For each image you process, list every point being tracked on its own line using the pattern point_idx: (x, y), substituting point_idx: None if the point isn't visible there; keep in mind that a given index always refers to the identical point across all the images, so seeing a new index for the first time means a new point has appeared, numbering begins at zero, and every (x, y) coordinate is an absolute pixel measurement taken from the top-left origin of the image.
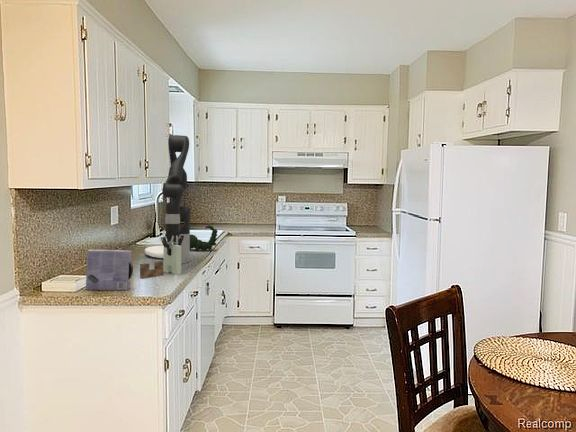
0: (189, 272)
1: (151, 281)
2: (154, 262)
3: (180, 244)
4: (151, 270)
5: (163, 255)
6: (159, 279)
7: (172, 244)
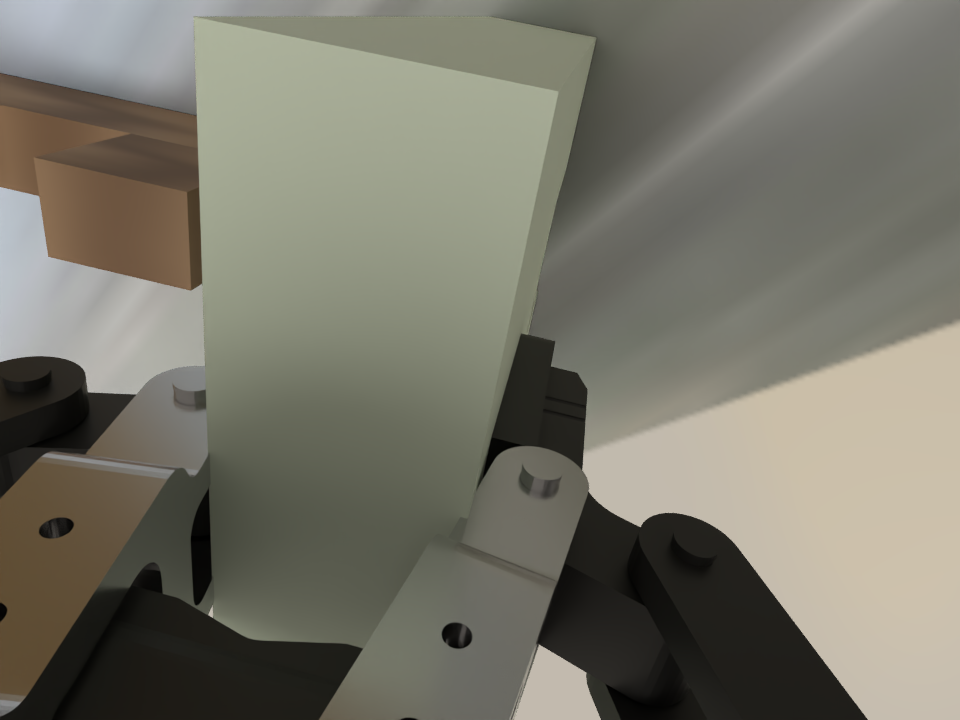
0: (688, 408)
1: (6, 335)
2: (43, 160)
3: (652, 714)
4: (34, 193)
5: (404, 18)
6: (126, 344)
7: (390, 523)
